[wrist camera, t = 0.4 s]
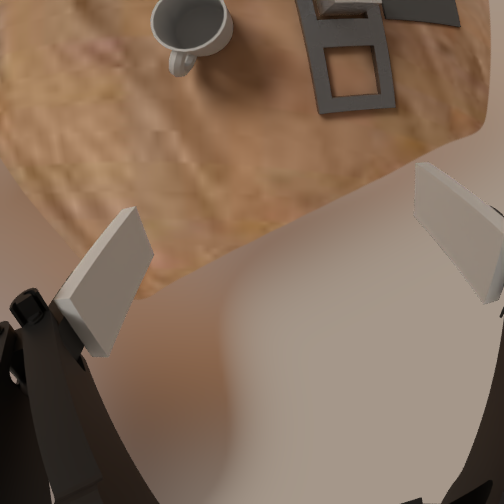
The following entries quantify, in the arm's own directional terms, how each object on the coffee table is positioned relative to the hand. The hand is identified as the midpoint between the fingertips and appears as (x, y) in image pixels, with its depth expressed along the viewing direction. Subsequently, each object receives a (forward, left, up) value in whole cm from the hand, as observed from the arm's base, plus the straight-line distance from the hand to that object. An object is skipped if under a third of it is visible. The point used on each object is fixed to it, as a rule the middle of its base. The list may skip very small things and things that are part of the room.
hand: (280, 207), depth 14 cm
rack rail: (-15, +12, -26) cm, 32 cm away
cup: (-12, -5, -26) cm, 29 cm away
